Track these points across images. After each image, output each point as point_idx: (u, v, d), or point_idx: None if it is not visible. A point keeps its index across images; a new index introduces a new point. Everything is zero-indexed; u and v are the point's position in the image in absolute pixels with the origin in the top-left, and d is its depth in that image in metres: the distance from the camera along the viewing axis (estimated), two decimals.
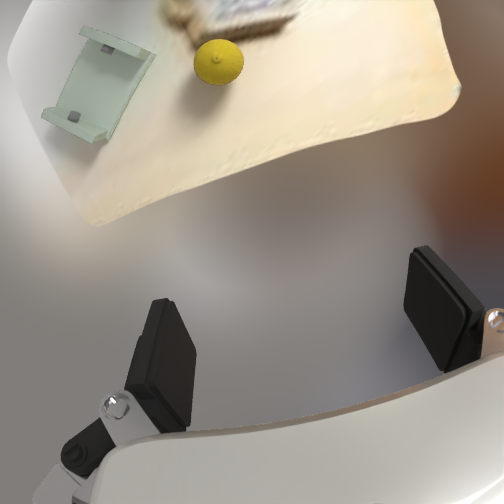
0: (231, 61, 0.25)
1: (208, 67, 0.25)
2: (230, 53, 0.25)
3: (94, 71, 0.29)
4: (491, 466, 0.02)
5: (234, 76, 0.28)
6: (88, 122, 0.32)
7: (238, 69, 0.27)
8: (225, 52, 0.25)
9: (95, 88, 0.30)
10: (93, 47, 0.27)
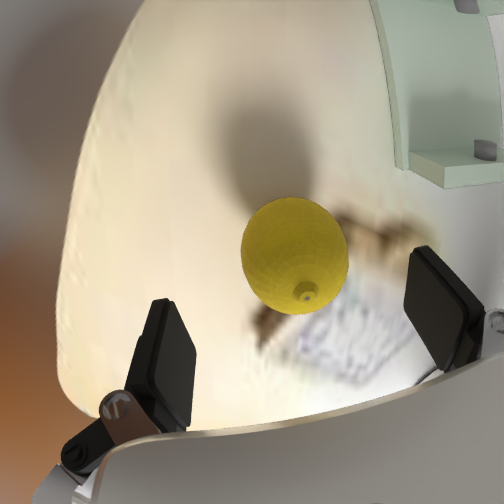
0: (275, 301, 0.13)
1: (307, 264, 0.12)
2: (289, 311, 0.14)
3: (470, 91, 0.14)
4: (491, 466, 0.02)
5: (245, 265, 0.14)
6: None
7: (250, 284, 0.14)
8: (300, 309, 0.13)
9: (453, 61, 0.13)
10: (490, 131, 0.15)
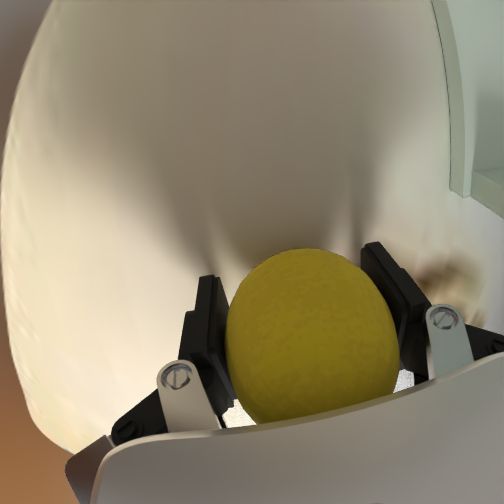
0: None
1: (341, 403, 0.06)
2: None
3: None
4: (491, 466, 0.02)
5: (231, 376, 0.08)
6: None
7: (240, 402, 0.08)
8: None
9: None
10: None
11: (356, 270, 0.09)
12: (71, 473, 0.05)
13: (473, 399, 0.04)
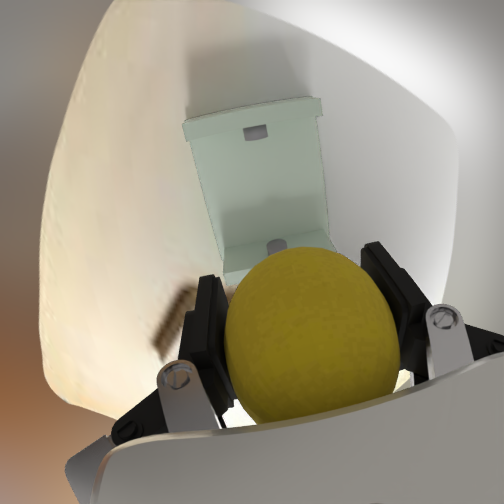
0: None
1: (341, 402, 0.06)
2: None
3: (283, 192, 0.24)
4: (491, 466, 0.02)
5: (230, 375, 0.08)
6: None
7: (239, 400, 0.08)
8: None
9: (262, 172, 0.23)
10: (310, 219, 0.26)
11: (356, 268, 0.09)
12: (71, 473, 0.05)
13: (473, 399, 0.04)
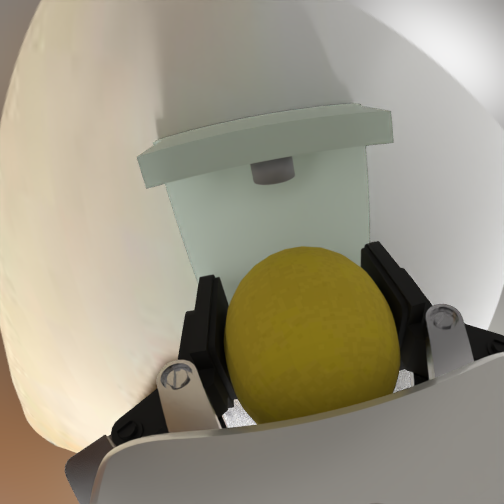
0: None
1: (341, 401, 0.06)
2: None
3: None
4: (491, 466, 0.02)
5: (230, 374, 0.08)
6: None
7: (239, 401, 0.08)
8: None
9: (279, 224, 0.15)
10: None
11: (356, 268, 0.09)
12: (71, 473, 0.05)
13: (473, 399, 0.04)
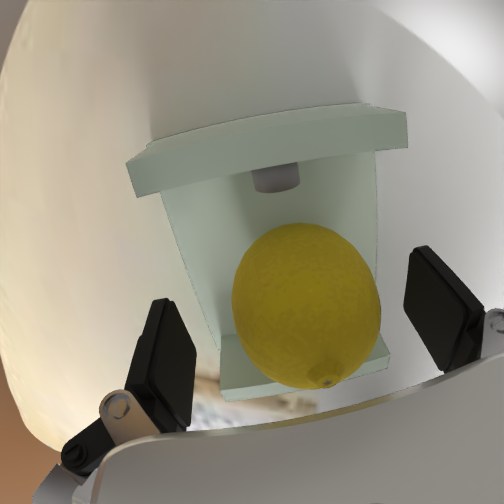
0: (280, 380, 0.09)
1: (329, 337, 0.08)
2: (300, 388, 0.09)
3: None
4: (491, 466, 0.02)
5: (237, 325, 0.10)
6: None
7: None
8: (314, 388, 0.09)
9: None
10: None
11: (341, 237, 0.10)
12: None
13: (473, 399, 0.04)
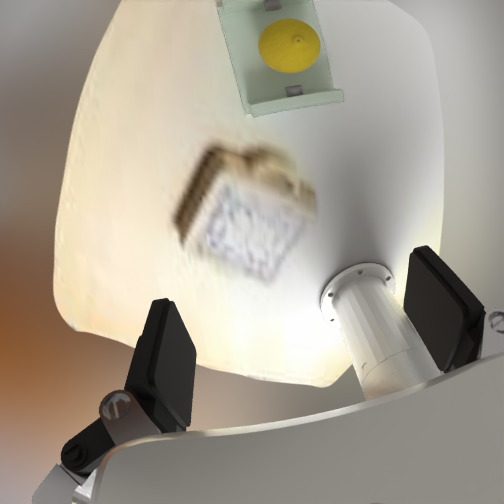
0: (281, 50, 0.20)
1: (296, 28, 0.19)
2: (290, 56, 0.20)
3: None
4: (491, 466, 0.02)
5: (262, 42, 0.21)
6: (253, 7, 0.22)
7: (266, 50, 0.21)
8: (296, 53, 0.20)
9: None
10: (318, 79, 0.27)
11: None
12: None
13: (473, 399, 0.04)
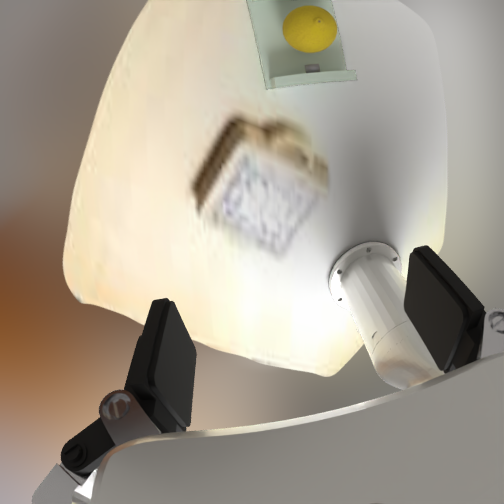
0: (304, 28, 0.22)
1: (317, 11, 0.20)
2: (311, 34, 0.22)
3: None
4: (491, 466, 0.02)
5: (287, 23, 0.23)
6: None
7: (290, 29, 0.23)
8: (316, 32, 0.22)
9: None
10: (333, 63, 0.29)
11: None
12: None
13: (473, 399, 0.04)
